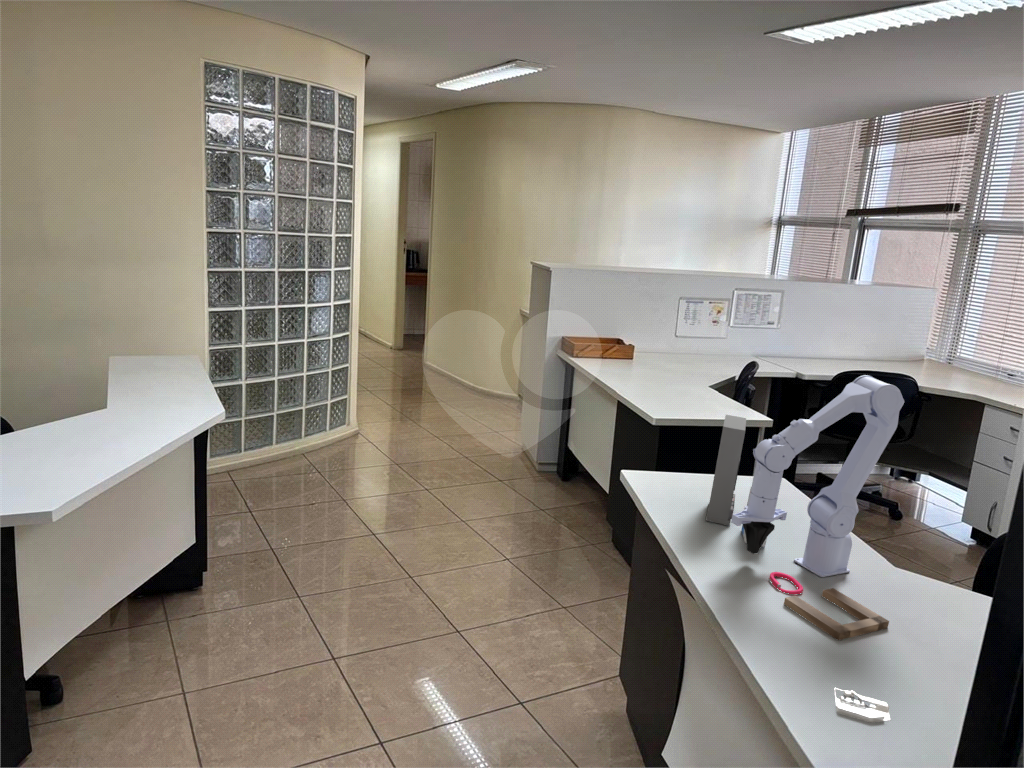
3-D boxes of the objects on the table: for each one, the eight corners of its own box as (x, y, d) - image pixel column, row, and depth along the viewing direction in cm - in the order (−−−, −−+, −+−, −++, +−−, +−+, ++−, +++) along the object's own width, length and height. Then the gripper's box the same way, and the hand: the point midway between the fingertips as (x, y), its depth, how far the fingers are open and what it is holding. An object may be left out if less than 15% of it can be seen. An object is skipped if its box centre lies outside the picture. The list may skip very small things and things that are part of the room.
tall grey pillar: (730, 527, 180) (748, 431, 174) (705, 521, 182) (722, 426, 176) (732, 508, 193) (749, 418, 187) (709, 503, 195) (725, 414, 189)
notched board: (831, 594, 150) (833, 588, 150) (887, 628, 139) (889, 621, 139) (783, 604, 144) (785, 597, 143) (838, 640, 133) (840, 633, 132)
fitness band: (763, 576, 156) (765, 570, 155) (789, 578, 156) (790, 571, 156) (780, 595, 148) (781, 589, 148) (807, 597, 149) (808, 590, 148)
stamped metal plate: (835, 715, 112) (837, 707, 112) (833, 690, 118) (834, 682, 118) (891, 732, 109) (894, 723, 109) (886, 706, 116) (888, 697, 115)
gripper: (774, 485, 164) (762, 540, 167) (726, 489, 157) (715, 547, 160) (798, 497, 158) (786, 554, 161) (750, 502, 151) (738, 561, 154)
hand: (752, 551), depth 160 cm, fingers closed
